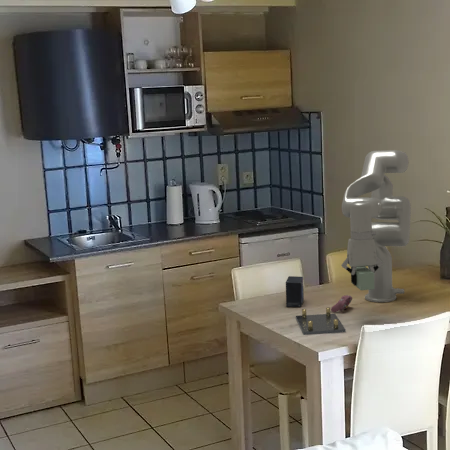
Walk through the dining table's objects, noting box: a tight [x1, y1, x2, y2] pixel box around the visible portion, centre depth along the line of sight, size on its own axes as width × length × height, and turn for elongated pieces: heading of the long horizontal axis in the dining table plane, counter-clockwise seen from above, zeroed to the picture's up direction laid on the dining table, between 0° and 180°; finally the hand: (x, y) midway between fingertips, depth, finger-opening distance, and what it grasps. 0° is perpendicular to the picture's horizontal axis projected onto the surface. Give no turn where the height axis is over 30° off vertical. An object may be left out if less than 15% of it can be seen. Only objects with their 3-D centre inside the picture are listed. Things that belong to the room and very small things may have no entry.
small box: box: [285, 275, 305, 308], centre depth 291 cm, size 11×6×10 cm, turn 168°
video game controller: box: [330, 294, 353, 313], centre depth 279 cm, size 10×5×7 cm, turn 148°
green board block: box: [351, 266, 374, 291], centre depth 260 cm, size 5×11×6 cm, turn 8°
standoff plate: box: [295, 306, 346, 336], centre depth 262 cm, size 15×20×4 cm
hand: (362, 283), depth 261 cm, fingers closed on green board block, 5 cm apart
